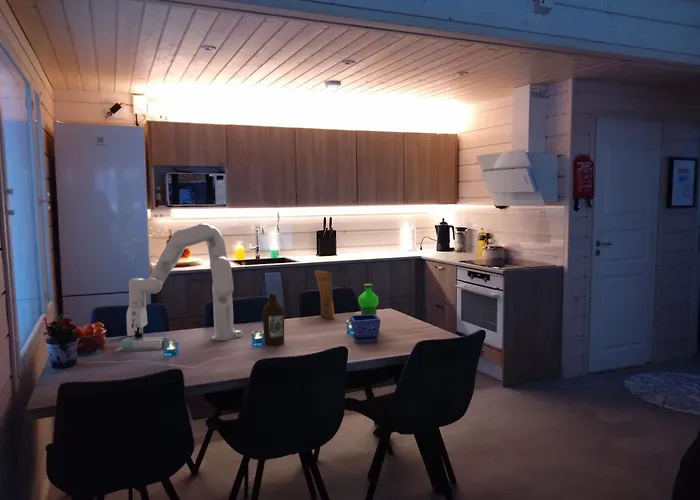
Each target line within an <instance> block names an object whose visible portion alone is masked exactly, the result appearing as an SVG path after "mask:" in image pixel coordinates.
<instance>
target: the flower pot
mask: <svg viewBox="0 0 700 500" xmlns="http://www.w3.org/2000/svg"><path fill="white" fill-rule="evenodd" d="M349 321H350V327H351V329H352V332H353V334H351V337H352V338H353V340H354V341H355V343H356V344H359V345H360V344H362V345H363V344H374V343H378V341H379V340H380V339H379V337H378V335H379V332H380V329H381V327H380V326H381V319H380V317H379V316H378V315H377V314H376V315H375V314H365V315H361V314H352V315H350V316H349Z"/></svg>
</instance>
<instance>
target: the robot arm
mask: <svg viewBox="0 0 700 500" xmlns="http://www.w3.org/2000/svg"><path fill="white" fill-rule="evenodd" d="M203 242H205V243H206V245H207V249H208V255H209V268H210V271H211V278H212V285H211V292H212V304H213V326H214V327H213V328H214V330H213V331H214V335H212V336H211V340H215V341H227V340H233V339H235V338H237V337H238V336H241V335H242V336H243V330H236V328H234V310H233V309H234V307H233V306H234V304H233V293H234V288H235V287H234V280H233V271H232V266H231V263H230V260H229V258H228V256H227V249H226V244H225V239H224V236H223V235H222V232H220V230H219V229H217V227H215V226H214V225H211V224H208V223H206V222H202V223H198V224H197V225H194V226H190V227H187V228H184V229H183V228H182V229H179V230H178V229H177V230H176V231H174V232H173V234H172V235H171V237H170V238H169V240H168V242H167V244H166V245H165V247H164V248H163V251H162V252H161V254H160V255H159V257H158V260H157V262H156V265H155V267H154V268H153V270H152V272H151V273H150V275H149V277H148V278H143V277H135V278H134V277H133V278H130V279H129V280H128V293H129V295H128V296H129V297H128V303H129V305H130V308H131V314H130V324H131V328H133V331H134V333H135V336H134V337H137V338H144V335H143V334H144V327H145V326H147V325H148V317H147V316H148V315H147V294H158V293H159V292H160V291H161V290H162V288H163V284H164V283H165V282H166V280H167V278H168V276H169V274H170V273H171V271H172V270H173V268H175V267H176V265H177V264H178V262H179V261H180V259H181V257H182V255H183V253H184V251H185V250H186V248H187V247H191V246H195V245H196V244H197V245H198V244H200V243H203ZM129 305H128V306H129ZM142 332H143V333H142Z"/></svg>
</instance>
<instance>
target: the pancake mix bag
mask: <svg viewBox="0 0 700 500" xmlns="http://www.w3.org/2000/svg"><path fill="white" fill-rule="evenodd" d="M314 275H315V278H316V281H317V286H318V289H319V295H320V296H319V297H320V316H321V317H323V318H325V319H328V320H329V319H331V320H332V319H334V318H335V310H334V308H335V307H334V300H333V286H332V272H330V271H327V270H318V269H316V270H315V271H314Z"/></svg>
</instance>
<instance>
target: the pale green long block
mask: <svg viewBox="0 0 700 500" xmlns="http://www.w3.org/2000/svg"><path fill="white" fill-rule="evenodd" d="M162 337H163V342H164V343H165V342H168V340H169V339H168V338H169V336H162ZM163 342H162V339H143V340H134V339H127V340H125V339H122V340H121V342H120V343H121V346H122V350H131V349H163Z"/></svg>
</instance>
